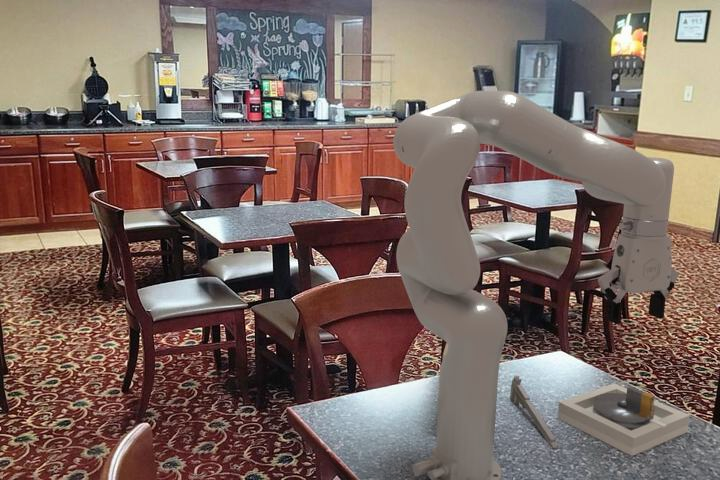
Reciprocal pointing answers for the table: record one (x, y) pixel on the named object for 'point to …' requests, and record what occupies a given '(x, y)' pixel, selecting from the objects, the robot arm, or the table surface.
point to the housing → (631, 442)
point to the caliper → (530, 409)
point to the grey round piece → (626, 408)
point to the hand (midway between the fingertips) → (634, 319)
